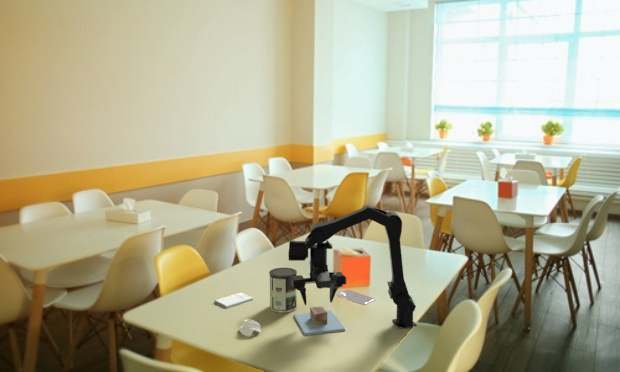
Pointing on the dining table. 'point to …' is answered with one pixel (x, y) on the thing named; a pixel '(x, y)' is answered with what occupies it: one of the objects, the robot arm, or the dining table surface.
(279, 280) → the coffee can
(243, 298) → the external hard drive
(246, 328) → the white crumpled lump
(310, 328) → the mat
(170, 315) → the dining table surface
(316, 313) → the walnut block
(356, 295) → the mobile phone
